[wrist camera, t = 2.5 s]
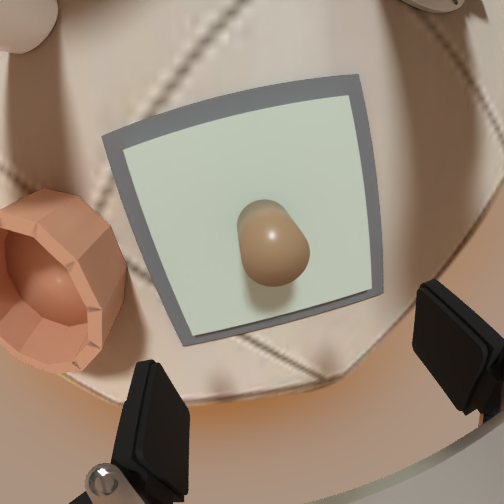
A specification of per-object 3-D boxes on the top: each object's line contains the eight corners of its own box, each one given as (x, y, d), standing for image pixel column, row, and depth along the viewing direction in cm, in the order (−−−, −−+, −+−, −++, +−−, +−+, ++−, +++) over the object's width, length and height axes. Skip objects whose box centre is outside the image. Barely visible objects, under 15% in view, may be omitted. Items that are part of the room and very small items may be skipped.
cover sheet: (343, 96, 18) (385, 89, 13) (368, 283, 24) (400, 323, 19) (126, 148, 18) (92, 159, 13) (193, 329, 24) (188, 381, 19)
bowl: (90, 166, 18) (47, 183, 13) (149, 314, 24) (134, 364, 18) (-14, 219, 19) (-55, 246, 13) (43, 335, 24) (18, 375, 18)
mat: (356, 74, 18) (358, 74, 17) (381, 290, 25) (383, 293, 25) (103, 135, 18) (101, 136, 17) (183, 343, 25) (183, 346, 25)
